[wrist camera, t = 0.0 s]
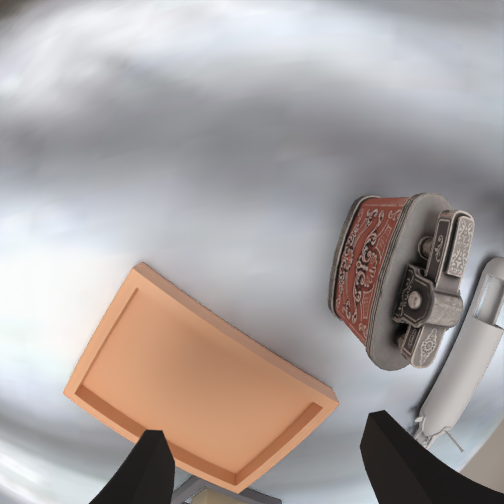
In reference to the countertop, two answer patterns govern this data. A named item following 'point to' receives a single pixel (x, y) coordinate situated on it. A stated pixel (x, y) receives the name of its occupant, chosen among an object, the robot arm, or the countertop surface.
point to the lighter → (400, 276)
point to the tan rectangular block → (213, 498)
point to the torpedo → (465, 359)
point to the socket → (254, 500)
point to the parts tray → (194, 384)
